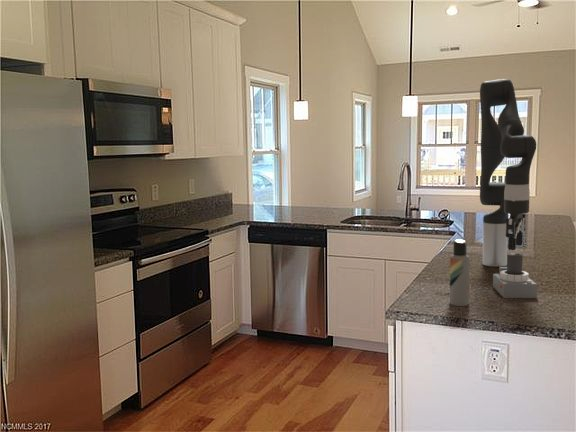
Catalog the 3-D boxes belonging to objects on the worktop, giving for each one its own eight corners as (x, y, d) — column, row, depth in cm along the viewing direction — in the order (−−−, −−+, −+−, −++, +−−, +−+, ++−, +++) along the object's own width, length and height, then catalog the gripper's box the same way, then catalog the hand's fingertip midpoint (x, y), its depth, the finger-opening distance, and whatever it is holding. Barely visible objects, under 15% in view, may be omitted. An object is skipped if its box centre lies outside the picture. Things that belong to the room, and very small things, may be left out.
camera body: (491, 286, 188) (491, 266, 187) (523, 286, 187) (523, 266, 186) (501, 297, 174) (502, 276, 173) (536, 298, 173) (537, 276, 172)
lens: (505, 279, 180) (505, 255, 178) (509, 276, 183) (509, 252, 182) (519, 280, 177) (520, 256, 176) (523, 278, 180) (524, 254, 179)
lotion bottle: (465, 300, 172) (466, 238, 169) (471, 306, 166) (472, 241, 164) (447, 301, 172) (447, 238, 169) (453, 306, 166) (454, 241, 164)
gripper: (510, 195, 184) (509, 242, 186) (498, 200, 173) (497, 250, 175) (534, 196, 180) (533, 244, 182) (523, 201, 168) (521, 252, 171)
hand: (515, 247), depth 178 cm, fingers open, 8 cm apart
